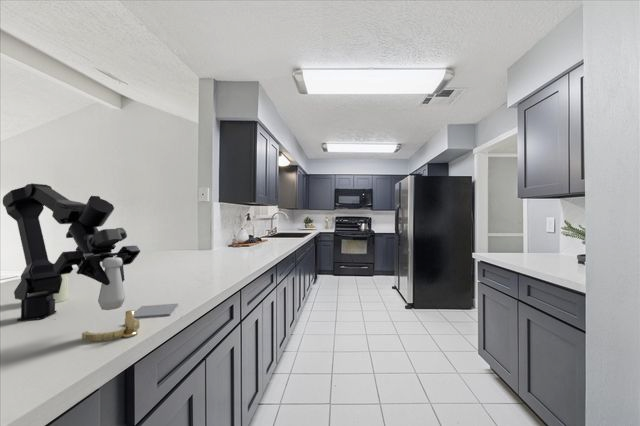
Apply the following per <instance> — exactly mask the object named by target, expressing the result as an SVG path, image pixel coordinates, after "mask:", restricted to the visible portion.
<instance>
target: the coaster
mask: <svg viewBox="0 0 640 426" xmlns="http://www.w3.org/2000/svg"><path fill="white" fill-rule="evenodd" d="M178 306H179V302H177V303H166V304H165V303H164V304H162V303H161V304H151V305H141V306H140V307H139V308H137V310H134V318H136V319H146V318H147V319H149V318H157V317H158V318H159V317H160V318H161V317H170V316H171V315H172V314H171V313H174V311H175V310H176V309H175V308H178Z"/></svg>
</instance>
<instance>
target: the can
mask: <svg viewBox="0 0 640 426" xmlns="http://www.w3.org/2000/svg"><path fill="white" fill-rule="evenodd" d="M61 276H62V283H61V287H60V291H59V293H57V294H53V299H55V304H57V302H58V303H60V302H62V303H63V302H65V301H67V300H68V299H69V288H68V287H69V274H62V275H61Z"/></svg>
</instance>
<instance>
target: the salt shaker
mask: <svg viewBox="0 0 640 426" xmlns="http://www.w3.org/2000/svg"><path fill="white" fill-rule="evenodd" d="M120 266H122V259H121V258H119V257H111V258H106V259H104V260H103V262H101V267H102V268H104V272H105V274H106V275H107V277H108V279H109V281H110V284H109V285H104V284H102V283H101V285H100V289H99V293H98V298H97V299H98V300H97V302H98V304H99V307H100V308H101V310H103V311H111V310H117V309H119V308H121V307H123V304H124V302H125V300H126V292H125V289H124V282H122V278H121V273H120Z"/></svg>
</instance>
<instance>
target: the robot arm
mask: <svg viewBox="0 0 640 426" xmlns="http://www.w3.org/2000/svg"><path fill="white" fill-rule="evenodd" d="M2 197H3V198H2V205H3V207H4V208H5V211H6V214H7V215H8V216H9V217H11V218H12V219H13V220H15V222H16V223H17V228H18V232H19V233H18V234H19V238H20V242H21V247H22V250H23V255H24V260H25V265H26V266H25V268H24V270H23V271H22V273H21V275H20V282H19V283H18V285H17V287H16V288H15V289H14V291H13V294H14V299H15V300H18V301H19V300H20V303H21V305H20V316H19V317H18V318H16V321H30V320H31V321H32V320H43V319H45V318H48V317H49V316H51V315H54V314H56V313H57V310H56V303H55V299H53V294H57V293H59V291H60V287H61V283H62V276H61V275H62V274H68V275H69V274H71V273H72V272H73V270H74V268H73V266H77V268H78V269H77V271H76V274H77V275H82V276H85V277H87V278H89V279H93V280H94V281H97V282H98V283H101V285H102V284H104V285H109V284H110V281H109V279H108V277H107V275H106V274H105V272H104V271H105V269H103V266H102V264H101V263H102V262H103V260H104V259H106V258H111V257H119V258H121V259H122V266H120V273H121V278H122V283H124V281H125V274H124V273H125V272H124V271H125V270H124V266H126V265H131V264H132V263H133V262H134V261H135V259H136V258H137V256H139V254H140V253H141V250H140V248H139V247H138V245H125V246H123V245H122V247H121V248H120V249H119V250H118V251H112V250H115V248H116V244H117V243H119V242H122V241H124V240H125V239H126V238H127V237H128V233H127V231H126V230H125V229H124V228H123V227H116V228H105V229H101V230H99V229H98V228H100V227H103V226H104V225H105V223H106V221H107V220H108V219H109V218H110V216H111V215H112V213H113V212H114V210H115V206H114V204H112V203H110V201H107V200H105V199H102V198H101V197H100V196H99V195H90V197H89V199H88V201H87V202H86V203H84V202H81V201H75V200H71V199H68V198H67V197H66V196H64V195H62V194H61V193H59V192H58V191H56V190H55V189H53V188H52V186H51V185H48V184H44V183H43V184H42V183H28V184H26V185H25V186H22V187H18V188H15V189H12V190H9V192H7V193H6V194H5V195H4V196H2ZM44 206H45V207H46V208H47V209H49V210H50V211H52V215H51V216H52V218H53V220H55V221H56V222H57V223H58V224H59V225H70V226H69V227H68V231H67V232H66V235H65V238H66V239H71V238H72V239H73V241H74V242H75V244H76V245H77V247H76V248H75V250H70V251H62V252H61V254H59V256H58V258H57V259H56V261H55V262H54V263H52V262H51V261H50V260H49V257H48V253H47V249H46V243H45V238H44V235H43V231H42V227H41V226H42V225H41V222H40V216H41V214H42V212H43V211H44Z"/></svg>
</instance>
